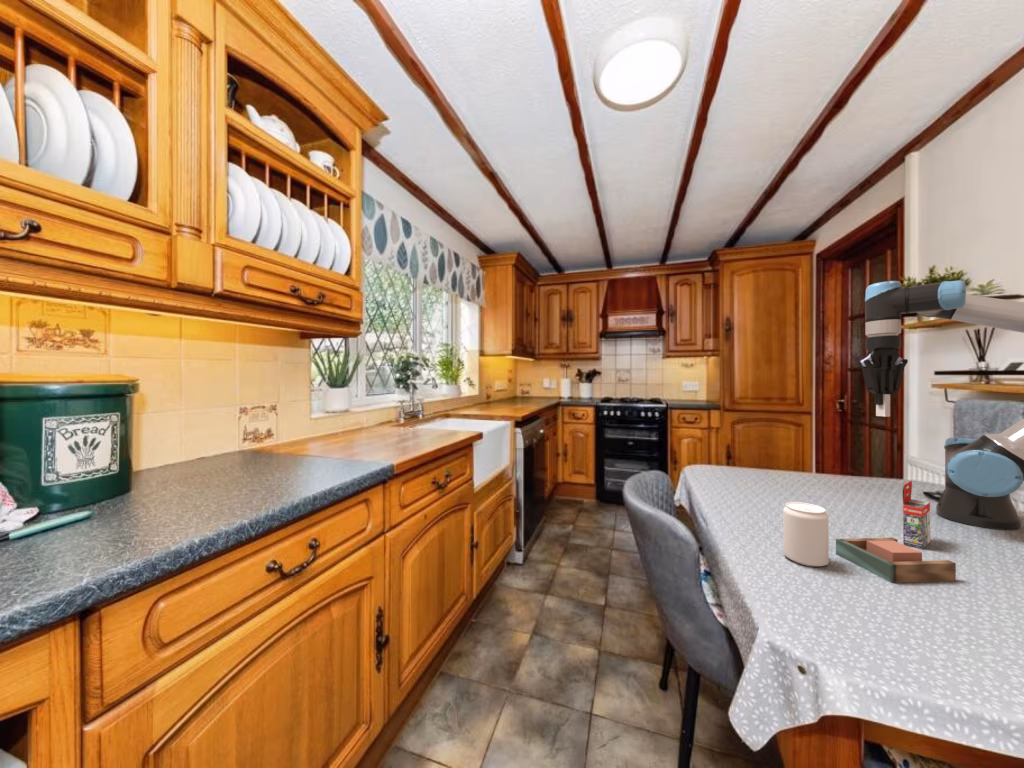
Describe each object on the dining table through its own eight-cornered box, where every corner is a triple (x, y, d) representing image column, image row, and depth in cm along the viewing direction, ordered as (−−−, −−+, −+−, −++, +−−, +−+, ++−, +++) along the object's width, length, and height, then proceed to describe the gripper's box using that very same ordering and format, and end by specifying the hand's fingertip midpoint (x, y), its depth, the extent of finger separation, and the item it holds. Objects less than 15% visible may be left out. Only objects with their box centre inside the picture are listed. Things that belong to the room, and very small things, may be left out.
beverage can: (819, 554, 88) (819, 503, 88) (835, 571, 81) (835, 514, 81) (778, 549, 91) (778, 499, 91) (790, 565, 83) (790, 511, 83)
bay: (892, 552, 89) (892, 537, 89) (955, 580, 76) (955, 563, 76) (835, 554, 88) (835, 539, 88) (890, 582, 76) (890, 565, 76)
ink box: (931, 541, 94) (931, 483, 94) (923, 550, 90) (923, 488, 90) (910, 536, 97) (910, 479, 97) (902, 544, 93) (901, 485, 93)
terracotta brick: (893, 560, 85) (893, 540, 85) (922, 573, 79) (921, 552, 79) (866, 560, 86) (866, 540, 86) (892, 574, 80) (892, 552, 80)
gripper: (891, 337, 116) (891, 414, 116) (849, 337, 115) (849, 415, 115) (918, 334, 108) (918, 417, 108) (873, 334, 108) (874, 417, 108)
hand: (883, 416), depth 112 cm, fingers closed
